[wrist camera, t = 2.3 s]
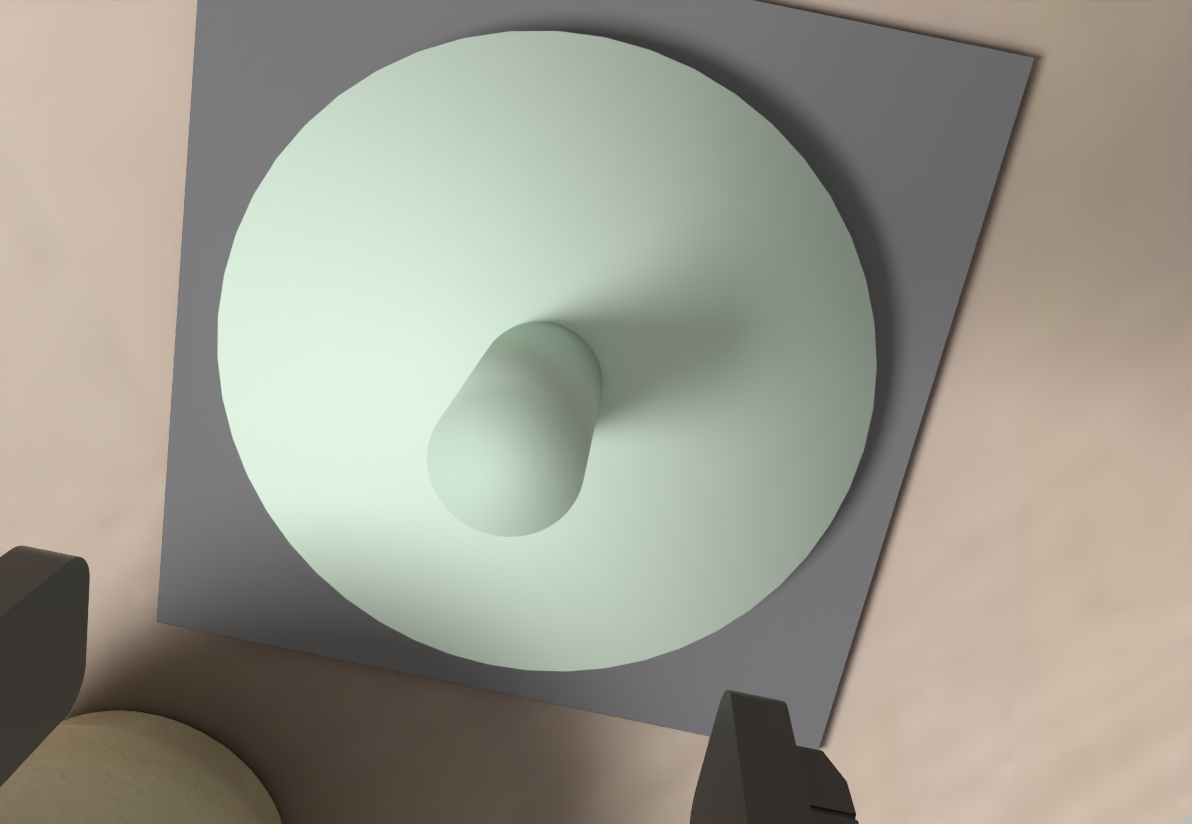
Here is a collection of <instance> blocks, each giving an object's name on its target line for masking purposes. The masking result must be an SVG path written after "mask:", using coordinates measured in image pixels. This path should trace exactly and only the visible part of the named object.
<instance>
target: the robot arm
mask: <svg viewBox="0 0 1192 824" xmlns="http://www.w3.org/2000/svg"><path fill="white" fill-rule="evenodd" d="M89 580H90V578H89V567H88V564H87V562H86V561H85V560H84V559H83V558H81V557H77V556H72V555H67V554H62V553H57V552H52V551H47V550H42V549H37V548H32V547H27V546H17V547H15V548H13V549H11V550H10V551H8V552H7V553H6V554H4V555H3V556H2V557H0V787H1V786H2V785H3V784H4V783H5V782H6V781H7V780H8V779H9V777H10V776H11V775H12V774H13V773H14V772H15V771H16V770H17V769H18V768H19V767H20V766H21V765H22V763H23V762H24V761H25V760H26V759H27V758H28V757H29V756H30V755H31V754H32V753H33V752H34V751H35V749H36V748H37V747H38V746H39V745H40V744H41V743H42V742H43V741H44V740H45V739H46V738H47V737H48V735H49V734H50V733H51V732H52V731H53V730H54V729H55V728H56V727H57V726H58V725H59V724H60V722H61V721H62V720H63V719H64V718H65V717H66V715H67V714H68V713H69V711H70V710H71V708H72V706H73V704H74V702H75V700H76V698H77V696H78V693H79V691H80V688H81V685H82V682H83V678H84V673H85V665H86V645H87V623H88V602H89ZM855 816H856V813H855V809H854V805H853V802H852V798H851V795H850V791H849V788H848V784H847V782H846V780H845V779H844V778H843V776H842V775H841V774H840V773H839V771H838V770H837V769H836V768H835V766H834V765H833V764H832V762H831V761H830V760H829V759H828V757H827V756H826V755H825V754H824V752H823V751H821V750H817V749H812V748H807V747H802V746H797V745H796V742H795V738H794V733H793V729H792V724H791V720H790V715H789V711H788V707H787V704H786V702H785V701H781V700H777V699H772V698H767V697H762V696H757V695H752V694H747V693H742V692H737V691H732V690H726V691H725V692H724V694H723V696H722V698H721V701H720V704H719V707H718V711H717V714H716V718H715V722H714V725H713V729H712V732H711V736H710V740H709V743H708V747H707V750H706V754H705V758H704V761H703V765H702V769H701V772H700V776H699V779H698V783H697V787H696V791H695V795H694V799H693V804H692V810H691V818H690V824H859V823H858V821H857V820H855Z"/></svg>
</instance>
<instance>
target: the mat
mask: <svg viewBox="0 0 1192 824" xmlns="http://www.w3.org/2000/svg"><path fill="white" fill-rule="evenodd" d="M508 31H562V32H569V33H577V34H584V35H592V36H599V37H606V38H609V39H613V40H616V41H620V42H624V43H627V44H631V45H634V46H638V47H642V48H645V49H649V50H652V51H654V52H656V53H659V54H661V55H663V56H666V57H668V58H670V59H672V60H675V61H677V62H679V63H682V64H684V65H686V66H689V67H691V68H693V69H695V70H697V71H699V72H700V73H702V74H703V75H705V76H707V77H708V78H710V79H712V80H713V81H715V82H717V83H718V84H720V85H722V86H723V87H725V88H726V89H728V90H730V91H731V92H733V93H735V94H736V95H737V96H739V97H740V98H741V99H742V100H743V101H745V102H746V103H747V104H748V105H750V106H751V107H752V108H753V109H754V110H756V111H757V112H758V113H759V114H761V115H762V116H763V117H764V118H765V119H767V120H768V121H769V122H770V123H772V124H773V125H774V127H775V128H776V129H777V130H778V131H779V132H780V133H781V134H782V135H783V136H784V137H785V138H786V139H787V141H788V142H789V143H790V144H791V145H792V146H793V147H794V148H795V149H796V150H797V151H798V152H799V154H800V155H801V156H802V157H803V158H804V159H805V160H806V162H807V163H808V165H809V166H810V168H811V169H812V170H813V172H814V173H815V175H816V176H817V178H818V179H819V181H820V182H821V183H822V185H823V186H824V188H825V189H826V191H827V192H828V193H829V195H830V196H831V198H832V200H833V202H834V204H835V206H836V208H837V210H838V212H839V214H840V216H841V218H842V220H843V222H844V224H845V226H846V228H847V230H848V232H849V234H850V236H851V238H852V240H853V243H854V246H855V249H856V252H857V255H858V258H859V261H860V264H861V267H862V269H863V272H864V275H865V278H866V282H867V287H868V292H869V298H870V303H871V308H872V313H873V318H874V324H875V342H876V360H877V370H876V382H875V394H874V406H873V412H872V417H871V421H870V425H869V430H868V434H867V439H866V443H865V448H864V451H863V454H862V456H861V459H860V462H859V465H858V467H857V470H856V473H855V475H854V478H853V481H852V483H851V486H850V488H849V490H848V492H847V494H846V496H845V498H844V500H843V502H842V503H841V505H840V507H839V509H838V511H837V513H836V515H835V517H834V518H833V520H832V522H831V524H830V525H829V527H828V528H827V529H826V531H825V532H824V534H823V535H822V536H821V538H820V539H819V541H818V542H817V543H816V545H815V546H814V548H813V549H812V550H811V552H810V553H809V555H808V556H807V557H806V558H805V559H804V560H803V561H802V562H801V563H800V565H799V566H798V567H797V568H796V569H795V570H794V571H793V572H792V573H791V574H790V575H789V576H788V577H787V578H786V579H785V581H784V582H783V583H782V584H781V585H780V586H779V587H777V588H776V589H775V590H774V591H773V592H771V593H770V594H769V595H768V596H766V597H765V598H764V599H763V600H762V601H760V602H759V603H758V604H757V605H756V606H754V607H753V608H752V609H751V610H749V611H748V612H746V613H745V614H743V615H742V616H740V617H738V618H737V619H735V620H734V621H732V622H730V623H729V624H727V625H726V626H724V627H723V628H721V629H719V630H718V631H716V632H714V633H712V634H710V635H708V636H706V637H704V638H701V639H699V640H697V641H695V642H693V643H691V644H689V645H687V646H684V647H682V648H680V649H677V650H674V651H671V652H668V653H665V654H662V655H659V656H656V657H653V658H650V659H647V660H644V661H639V662H634V663H629V664H624V665H619V666H614V667H609V668H602V669H590V670H578V671H536V670H522V669H516V668H509V667H502V666H495V665H489V664H485V663H481V662H477V661H474V660H470V659H466V658H462V657H459V656H455V655H451V654H448V653H446V652H443V651H441V650H438V649H436V648H433V647H431V646H428V645H426V644H423V643H420V642H418V641H415V640H413V639H411V638H409V637H407V636H406V635H404V634H402V633H400V632H398V631H396V630H394V629H392V628H391V627H389V626H387V625H385V624H383V623H381V622H379V621H378V620H376V619H375V618H373V617H372V616H370V615H369V614H368V613H366V612H365V611H363V610H362V609H360V608H359V607H357V606H356V605H354V604H353V603H352V602H350V601H349V600H347V599H346V598H345V597H344V596H342V595H341V594H340V593H339V592H338V591H337V590H336V589H334V588H333V587H332V586H331V585H330V584H329V583H328V582H326V581H325V580H324V579H323V578H322V577H321V576H320V575H318V574H317V573H316V572H315V571H314V570H313V568H312V567H311V566H310V565H309V564H308V563H307V562H306V561H305V560H304V558H303V557H302V556H301V555H300V554H299V553H298V552H297V551H296V550H295V549H294V547H293V546H292V545H291V544H290V543H289V542H288V540H287V539H286V537H285V536H284V535H283V533H282V532H281V530H280V529H279V528H278V526H277V525H276V523H275V522H274V521H273V519H272V518H271V516H270V515H269V513H268V512H267V511H266V509H265V507H264V505H263V503H262V501H261V500H260V498H259V496H258V494H257V492H256V490H255V489H254V487H253V485H252V483H251V481H250V479H249V478H248V476H247V473H246V471H245V468H244V466H243V463H242V461H241V458H240V456H239V453H238V450H237V448H236V445H235V443H234V440H233V438H232V434H231V430H230V426H229V422H228V418H227V414H226V410H225V406H224V402H223V398H222V391H221V382H220V374H219V366H218V357H217V355H218V312H219V305H220V299H221V292H222V285H223V278H224V273H225V270H226V266H227V263H228V259H229V256H230V252H231V249H232V246H233V242H234V239H235V235H236V233H237V230H238V228H239V226H240V224H241V222H242V219H243V217H244V215H245V213H246V210H247V208H248V206H249V204H250V202H251V199H252V197H253V195H254V193H255V192H256V190H257V189H258V187H259V185H260V184H261V182H262V181H263V179H264V178H265V176H266V174H267V173H268V171H269V170H270V168H271V166H272V165H273V163H274V162H275V160H276V159H277V157H278V156H279V155H280V154H281V153H282V152H283V150H284V149H285V148H286V147H287V146H288V145H289V143H290V142H291V141H292V140H293V139H294V137H295V136H296V135H297V134H298V133H299V132H300V130H301V129H302V128H303V127H304V126H305V125H306V124H307V123H308V122H309V121H310V120H311V119H313V118H314V117H315V116H316V115H317V114H318V113H319V112H321V111H322V110H323V109H324V108H325V107H326V106H327V105H329V104H330V103H331V102H332V101H333V100H334V99H335V98H337V97H338V96H339V95H340V94H342V93H343V92H345V91H347V90H348V89H350V88H351V87H353V86H354V85H356V84H357V83H359V82H360V81H362V80H363V79H365V78H366V77H368V76H370V75H371V74H373V73H374V72H376V71H378V70H380V69H382V68H384V67H386V66H388V65H390V64H393V63H395V62H397V61H399V60H401V59H403V58H406V57H408V56H410V55H412V54H414V53H416V52H419V51H422V50H425V49H429V48H432V47H435V46H439V45H442V44H445V43H449V42H452V41H455V40H459V39H462V38H468V37H475V36H481V35H488V34H495V33H501V32H508ZM1033 61H1034V58H1033V57H1028V56H1024V55H1019V54H1014V53H1009V52H1004V51H999V50H994V49H989V48H984V47H980V46H975V45H970V44H965V43H960V42H955V41H950V40H945V39H940V38H936V37H931V36H926V35H921V34H916V33H911V32H906V31H901V30H896V29H892V28H887V27H882V26H877V25H872V24H867V23H862V22H857V21H852V20H848V19H843V18H838V17H833V16H828V15H823V14H818V13H813V12H808V11H803V10H799V9H794V8H789V7H784V6H779V5H774V4H769V3H764V2H759V1H755V0H198V2H197V17H196V32H195V48H194V63H193V78H192V93H191V109H190V124H189V139H188V155H187V170H186V185H185V200H184V216H183V231H182V246H181V261H180V277H179V292H178V307H177V323H176V338H175V353H174V368H173V384H172V399H171V414H170V429H169V445H168V460H167V475H166V491H165V506H164V521H163V536H162V552H161V567H160V582H159V597H158V613H157V622H159V623H164V624H169V625H174V626H179V627H184V628H188V629H193V630H198V631H203V632H208V633H213V634H217V635H222V636H227V637H232V638H237V639H242V640H246V641H251V642H256V643H261V644H266V645H271V646H275V647H280V648H285V649H290V650H295V651H300V652H304V653H309V654H314V655H319V656H324V657H329V658H333V659H338V660H343V661H348V662H353V663H358V664H362V665H367V666H372V667H377V668H382V669H387V670H392V671H396V672H401V673H406V674H411V675H416V676H421V677H425V678H430V679H435V680H440V681H445V682H450V683H454V684H459V685H464V686H469V687H474V688H479V689H483V690H488V691H493V692H498V693H503V694H508V695H512V696H517V697H522V698H527V699H532V700H537V701H541V702H546V703H551V704H556V705H561V706H566V707H570V708H575V709H580V710H585V711H590V712H595V713H599V714H604V715H609V716H614V717H619V718H624V719H629V720H633V721H638V722H643V723H648V724H653V725H658V726H662V727H667V728H672V729H677V730H682V731H687V732H691V733H696V734H701V735H706V736H711V732H712V729H713V725H714V722H715V718H716V714H717V711H718V707H719V704H720V701H721V698H722V696H723V694H724V692H725V691H726V690H732V691H737V692H742V693H747V694H752V695H757V696H762V697H767V698H772V699H777V700H781V701H785V702H786V704H787V707H788V711H789V715H790V720H791V724H792V729H793V733H794V738H795V742H796V745H797V746H802V747H807V748H812V749H817V750H819V746H820V743H821V740H822V737H823V734H824V730H825V727H826V724H827V721H828V718H829V714H830V711H831V708H832V705H833V702H834V698H835V695H836V692H837V689H838V686H839V682H840V679H841V676H842V673H843V670H844V666H845V663H846V660H847V657H848V654H849V650H850V647H851V644H852V641H853V638H854V634H855V631H856V628H857V625H858V622H859V618H860V615H861V612H862V609H863V606H864V602H865V599H866V596H867V593H868V589H869V586H870V583H871V580H872V577H873V573H874V570H875V567H876V564H877V561H878V557H879V554H880V551H881V548H882V545H883V541H884V538H885V535H886V532H887V529H888V525H889V522H890V519H891V516H892V513H893V509H894V506H895V503H896V500H897V497H898V493H899V490H900V487H901V484H902V481H903V477H904V474H905V471H906V468H907V465H908V461H909V458H910V455H911V452H912V449H913V445H914V442H915V439H916V436H917V433H918V429H919V426H920V423H921V420H922V417H923V413H924V410H925V407H926V404H927V401H928V397H929V394H930V391H931V388H932V384H933V381H934V378H935V375H936V372H937V368H938V365H939V362H940V359H941V356H942V352H943V349H944V346H945V343H946V340H947V336H948V333H949V330H950V327H951V324H952V320H953V317H954V314H955V311H956V308H957V304H958V301H959V298H960V295H961V292H962V288H963V285H964V282H965V279H966V276H967V272H968V269H969V266H970V263H971V260H972V256H973V253H974V250H975V247H976V244H977V240H978V237H979V234H980V231H981V228H982V224H983V221H984V218H985V215H986V212H987V208H988V205H989V202H990V199H991V195H992V192H993V189H994V186H995V183H996V179H997V176H998V173H999V170H1000V167H1001V163H1002V160H1003V157H1004V154H1005V151H1006V147H1007V144H1008V141H1009V138H1010V135H1011V131H1012V128H1013V125H1014V122H1015V119H1016V115H1017V112H1018V109H1019V106H1020V103H1021V99H1022V96H1023V93H1024V90H1025V87H1026V83H1027V80H1028V77H1029V74H1030V71H1031V67H1032V64H1033Z"/></svg>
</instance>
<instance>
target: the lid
mask: <svg viewBox="0 0 1192 824" xmlns="http://www.w3.org/2000/svg"><path fill="white" fill-rule="evenodd" d="M217 357H218V366H219V374H220V382H221V391H222V398H223V402H224V406H225V410H226V414H227V418H228V422H229V426H230V430H231V434H232V438H233V440H234V443H235V445H236V448H237V450H238V453H239V456H240V458H241V461H242V463H243V466H244V468H245V471H246V473H247V476H248V478H249V479H250V481H251V483H252V485H253V487H254V489H255V490H256V492H257V494H258V496H259V498H260V500H261V501H262V503H263V505H264V507H265V509H266V511H267V512H268V513H269V515H270V516H271V518H272V519H273V521H274V522H275V523H276V525H277V526H278V528H279V529H280V530H281V532H282V533H283V535H284V536H285V537H286V539H287V540H288V542H289V543H290V544H291V545H292V546H293V547H294V549H295V550H296V551H297V552H298V553H299V554H300V555H301V556H302V557H303V558H304V560H305V561H306V562H307V563H308V564H309V565H310V566H311V567H312V568H313V570H314V571H315V572H316V573H317V574H318V575H320V576H321V577H322V578H323V579H324V580H325V581H326V582H328V583H329V584H330V585H331V586H332V587H333V588H334V589H336V590H337V591H338V592H339V593H340V594H341V595H342V596H344V597H345V598H346V599H347V600H349V601H350V602H352V603H353V604H354V605H356V606H357V607H359V608H360V609H362V610H363V611H365V612H366V613H368V614H369V615H370V616H372V617H373V618H375V619H376V620H378V621H379V622H381V623H383V624H385V625H387V626H389V627H391V628H392V629H394V630H396V631H398V632H400V633H402V634H404V635H406V636H407V637H409V638H411V639H413V640H415V641H418V642H420V643H423V644H426V645H428V646H431V647H433V648H436V649H438V650H441V651H443V652H446V653H448V654H451V655H455V656H459V657H462V658H466V659H470V660H474V661H477V662H481V663H485V664H489V665H495V666H502V667H509V668H516V669H522V670H536V671H578V670H590V669H602V668H609V667H614V666H619V665H624V664H629V663H634V662H639V661H644V660H647V659H650V658H653V657H656V656H659V655H662V654H665V653H668V652H671V651H674V650H677V649H680V648H682V647H684V646H687V645H689V644H691V643H693V642H695V641H697V640H699V639H701V638H704V637H706V636H708V635H710V634H712V633H714V632H716V631H718V630H719V629H721V628H723V627H724V626H726V625H727V624H729V623H730V622H732V621H734V620H735V619H737V618H738V617H740V616H742V615H743V614H745V613H746V612H748V611H749V610H751V609H752V608H753V607H754V606H756V605H757V604H758V603H759V602H760V601H762V600H763V599H764V598H765V597H766V596H768V595H769V594H770V593H771V592H773V591H774V590H775V589H776V588H777V587H779V586H780V585H781V584H782V583H783V582H784V581H785V579H786V578H787V577H788V576H789V575H790V574H791V573H792V572H793V571H794V570H795V569H796V568H797V567H798V566H799V565H800V563H801V562H802V561H803V560H804V559H805V558H806V557H807V556H808V555H809V553H810V552H811V550H812V549H813V548H814V546H815V545H816V543H817V542H818V541H819V539H820V538H821V536H822V535H823V534H824V532H825V531H826V529H827V528H828V527H829V525H830V524H831V522H832V520H833V518H834V517H835V515H836V513H837V511H838V509H839V507H840V505H841V503H842V502H843V500H844V498H845V496H846V494H847V492H848V490H849V488H850V486H851V483H852V481H853V478H854V475H855V473H856V470H857V467H858V465H859V462H860V459H861V456H862V454H863V451H864V448H865V443H866V439H867V434H868V430H869V425H870V421H871V417H872V412H873V406H874V394H875V382H876V370H877V360H876V342H875V324H874V318H873V313H872V308H871V303H870V298H869V292H868V287H867V282H866V278H865V275H864V272H863V269H862V267H861V264H860V261H859V258H858V255H857V252H856V249H855V246H854V243H853V240H852V238H851V236H850V234H849V232H848V230H847V228H846V226H845V224H844V222H843V220H842V218H841V216H840V214H839V212H838V210H837V208H836V206H835V204H834V202H833V200H832V198H831V196H830V195H829V193H828V192H827V191H826V189H825V188H824V186H823V185H822V183H821V182H820V181H819V179H818V178H817V176H816V175H815V173H814V172H813V170H812V169H811V168H810V166H809V165H808V163H807V162H806V160H805V159H804V158H803V157H802V156H801V155H800V154H799V152H798V151H797V150H796V149H795V148H794V147H793V146H792V145H791V144H790V143H789V142H788V141H787V139H786V138H785V137H784V136H783V135H782V134H781V133H780V132H779V131H778V130H777V129H776V128H775V127H774V125H773V124H772V123H770V122H769V121H768V120H767V119H765V118H764V117H763V116H762V115H761V114H759V113H758V112H757V111H756V110H754V109H753V108H752V107H751V106H750V105H748V104H747V103H746V102H745V101H743V100H742V99H741V98H740V97H739V96H737V95H736V94H735V93H733V92H731V91H730V90H728V89H726V88H725V87H723V86H722V85H720V84H718V83H717V82H715V81H713V80H712V79H710V78H708V77H707V76H705V75H703V74H702V73H700V72H699V71H697V70H695V69H693V68H691V67H689V66H686V65H684V64H682V63H679V62H677V61H675V60H672V59H670V58H668V57H666V56H663V55H661V54H659V53H656V52H654V51H652V50H649V49H645V48H642V47H638V46H634V45H631V44H627V43H624V42H620V41H616V40H613V39H609V38H606V37H599V36H592V35H584V34H577V33H569V32H562V31H508V32H501V33H495V34H488V35H481V36H475V37H468V38H462V39H459V40H455V41H452V42H449V43H445V44H442V45H439V46H435V47H432V48H429V49H425V50H422V51H419V52H416V53H414V54H412V55H410V56H408V57H406V58H403V59H401V60H399V61H397V62H395V63H393V64H390V65H388V66H386V67H384V68H382V69H380V70H378V71H376V72H374V73H373V74H371V75H370V76H368V77H366V78H365V79H363V80H362V81H360V82H359V83H357V84H356V85H354V86H353V87H351V88H350V89H348V90H347V91H345V92H343V93H342V94H340V95H339V96H338V97H337V98H335V99H334V100H333V101H332V102H331V103H330V104H329V105H327V106H326V107H325V108H324V109H323V110H322V111H321V112H319V113H318V114H317V115H316V116H315V117H314V118H313V119H311V120H310V121H309V122H308V123H307V124H306V125H305V126H304V127H303V128H302V129H301V130H300V132H299V133H298V134H297V135H296V136H295V137H294V139H293V140H292V141H291V142H290V143H289V145H288V146H287V147H286V148H285V149H284V150H283V152H282V153H281V154H280V155H279V156H278V157H277V159H276V160H275V162H274V163H273V165H272V166H271V168H270V170H269V171H268V173H267V174H266V176H265V178H264V179H263V181H262V182H261V184H260V185H259V187H258V189H257V190H256V192H255V193H254V195H253V197H252V199H251V202H250V204H249V206H248V208H247V210H246V213H245V215H244V217H243V219H242V222H241V224H240V226H239V228H238V230H237V233H236V235H235V239H234V242H233V246H232V249H231V252H230V256H229V259H228V263H227V266H226V270H225V273H224V278H223V285H222V292H221V299H220V305H219V312H218V355H217Z"/></svg>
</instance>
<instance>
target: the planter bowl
mask: <svg viewBox="0 0 1192 824" xmlns="http://www.w3.org/2000/svg"><path fill="white" fill-rule="evenodd" d="M0 824H282V822H281V819H280V815H279V813H278V811H277V809H276V806H275V804H274V802H273V800H272V798H271V797H270V795H269V793H268V791H267V790H266V789H265V787H264V786H263V784H262V783H261V782H260V780H259V779H258V778H257V777H256V775H255V774H254V773H253V772H252V770H251V769H250V768H249V767H248V766H247V765H246V764H245V763H244V762H243V761H242V760H240V759H239V758H238V757H237V756H236V755H235V754H234V753H233V752H231V751H230V750H229V749H228V748H226V747H225V746H224V745H222V744H220V743H219V742H217V741H216V740H214V739H212V738H211V737H209V736H208V735H206V734H204V733H203V732H201V731H199V730H197V729H194V728H192V727H190V726H188V725H186V724H183V723H181V722H178V721H175V720H172V719H169V718H166V717H162V716H159V715H153V714H148V713H143V712H135V711H118V710H117V711H102V712H94V713H88V714H82V715H79V716H75V717H72V718H69V719H66V720H64V721H61V722H60V724H59V725H58V726H57V727H56V728H55V729H54V730H53V731H52V732H51V733H50V734H49V735H48V737H47V738H46V739H45V740H44V741H43V742H42V743H41V744H40V745H39V746H38V747H37V748H36V749H35V751H34V752H33V753H32V754H31V755H30V756H29V757H28V758H27V759H26V760H25V761H24V762H23V763H22V765H21V766H20V767H19V768H18V769H17V770H16V771H15V772H14V773H13V774H12V775H11V776H10V777H9V779H8V780H7V781H6V782H5V783H4V784H3V785H2V786H1V787H0Z"/></svg>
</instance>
